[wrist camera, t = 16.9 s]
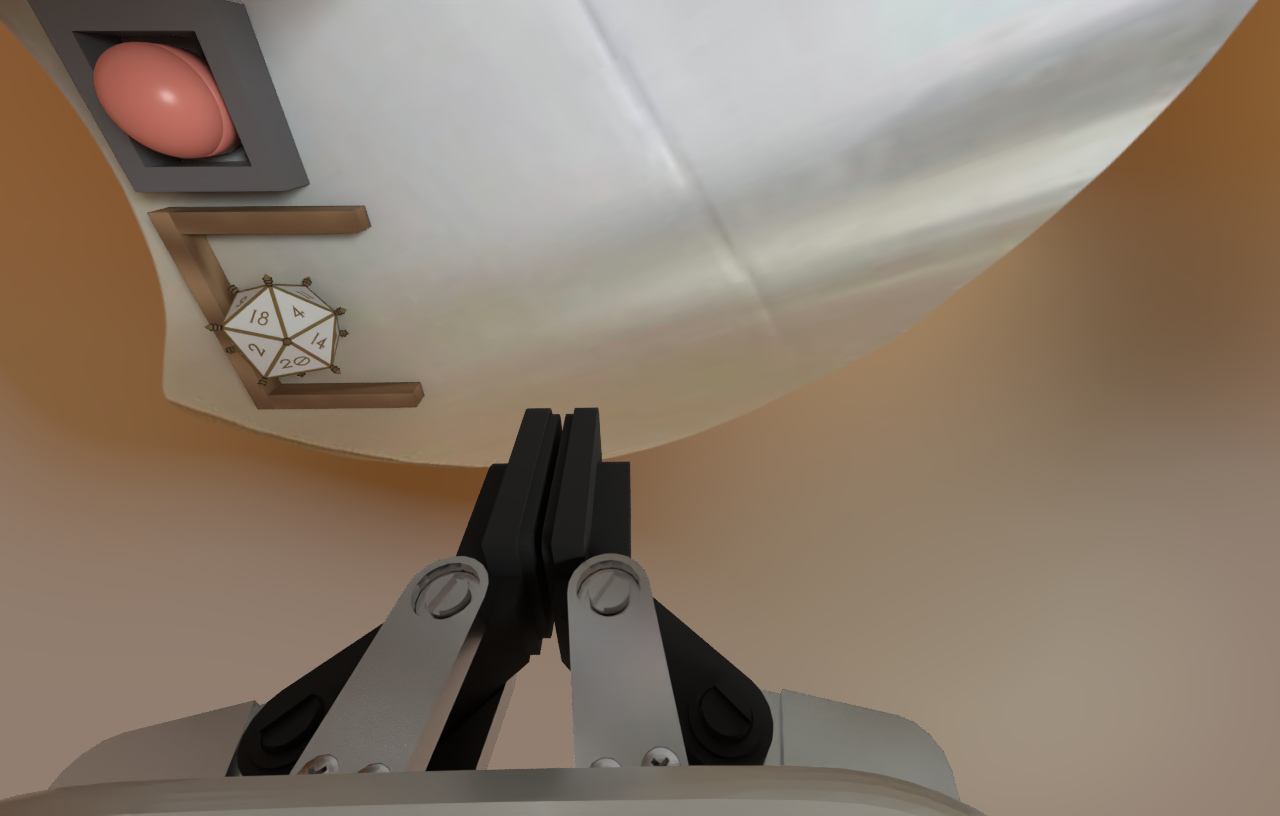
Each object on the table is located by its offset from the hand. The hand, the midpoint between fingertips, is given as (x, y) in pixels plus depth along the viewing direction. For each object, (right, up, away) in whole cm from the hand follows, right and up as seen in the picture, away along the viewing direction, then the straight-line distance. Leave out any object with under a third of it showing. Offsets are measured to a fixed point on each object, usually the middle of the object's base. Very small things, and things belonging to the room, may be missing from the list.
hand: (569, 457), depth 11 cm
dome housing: (-28, +22, +20) cm, 40 cm away
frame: (-26, +9, +28) cm, 39 cm away
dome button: (-28, +22, +21) cm, 41 cm away
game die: (-26, +10, +28) cm, 40 cm away
